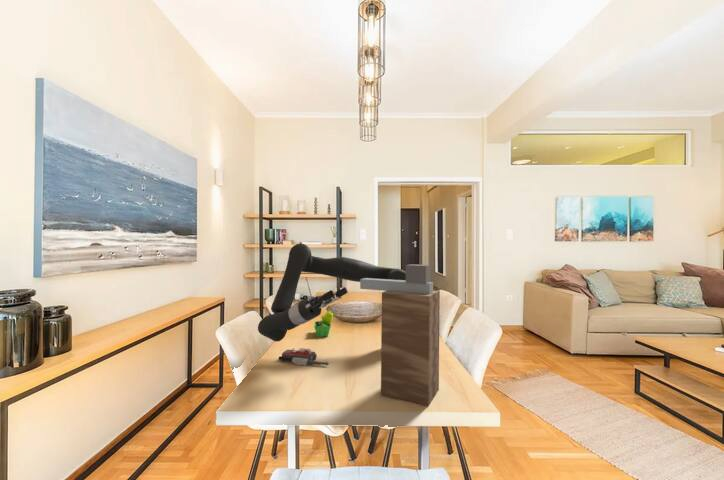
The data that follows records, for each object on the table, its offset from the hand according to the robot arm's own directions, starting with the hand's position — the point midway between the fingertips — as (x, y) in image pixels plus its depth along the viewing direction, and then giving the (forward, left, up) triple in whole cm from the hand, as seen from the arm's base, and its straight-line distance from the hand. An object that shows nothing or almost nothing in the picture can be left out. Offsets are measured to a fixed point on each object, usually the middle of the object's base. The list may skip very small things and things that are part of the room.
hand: (340, 291), depth 113 cm
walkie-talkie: (-7, -18, -29) cm, 35 cm away
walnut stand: (+1, +25, -28) cm, 38 cm away
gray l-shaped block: (+1, +20, +2) cm, 20 cm away
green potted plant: (-41, -32, -29) cm, 59 cm away
